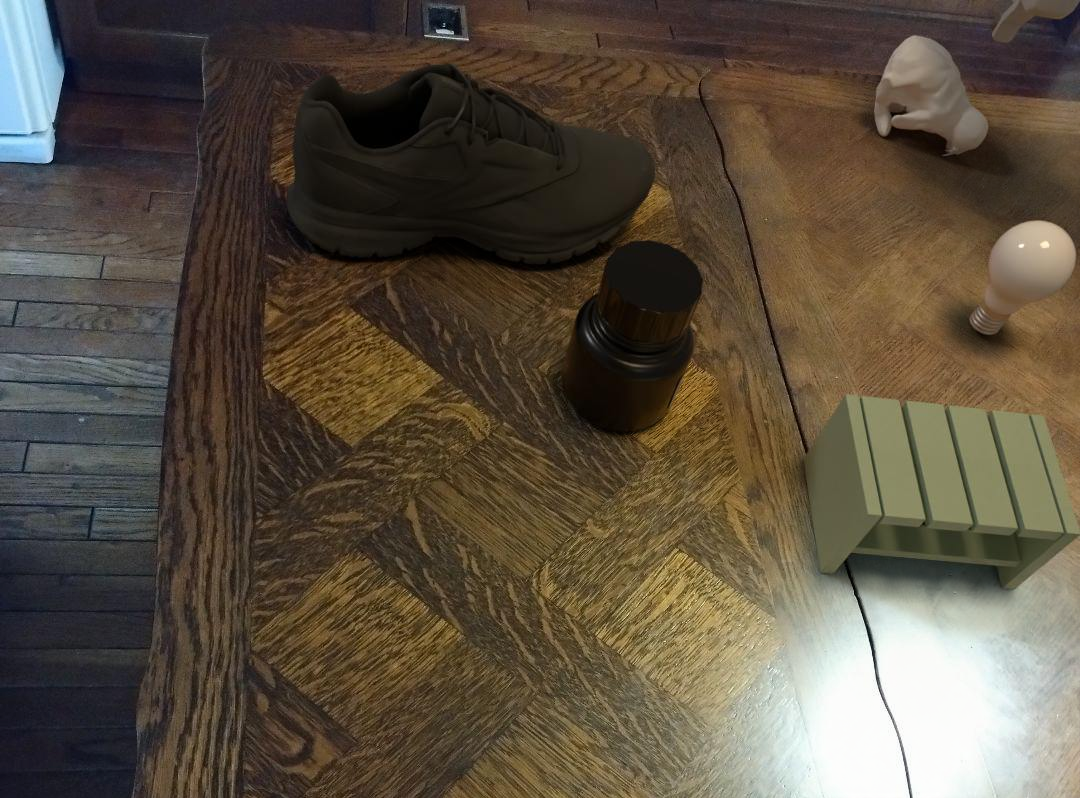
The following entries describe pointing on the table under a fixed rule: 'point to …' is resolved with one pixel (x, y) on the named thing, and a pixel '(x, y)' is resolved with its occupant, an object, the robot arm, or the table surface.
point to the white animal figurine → (928, 96)
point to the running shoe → (456, 171)
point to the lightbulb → (1023, 271)
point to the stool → (938, 486)
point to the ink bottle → (633, 337)
